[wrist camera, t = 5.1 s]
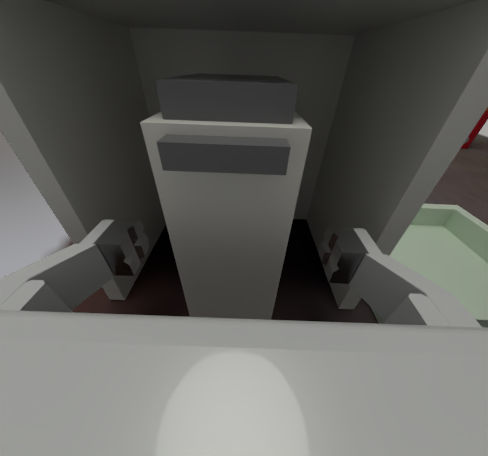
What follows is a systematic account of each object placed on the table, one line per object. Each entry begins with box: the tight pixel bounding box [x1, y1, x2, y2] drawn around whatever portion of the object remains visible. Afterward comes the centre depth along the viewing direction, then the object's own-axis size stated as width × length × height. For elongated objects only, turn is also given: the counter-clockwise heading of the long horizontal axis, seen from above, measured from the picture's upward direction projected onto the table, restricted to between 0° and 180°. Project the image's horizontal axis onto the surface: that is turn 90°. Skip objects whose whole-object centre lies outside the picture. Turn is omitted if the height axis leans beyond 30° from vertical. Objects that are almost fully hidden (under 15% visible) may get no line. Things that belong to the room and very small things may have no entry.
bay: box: [0, 0, 488, 309], centre depth 13 cm, size 16×11×15 cm
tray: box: [370, 204, 488, 328], centre depth 16 cm, size 12×12×2 cm
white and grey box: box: [140, 73, 312, 320], centre depth 12 cm, size 5×8×12 cm, turn 178°
